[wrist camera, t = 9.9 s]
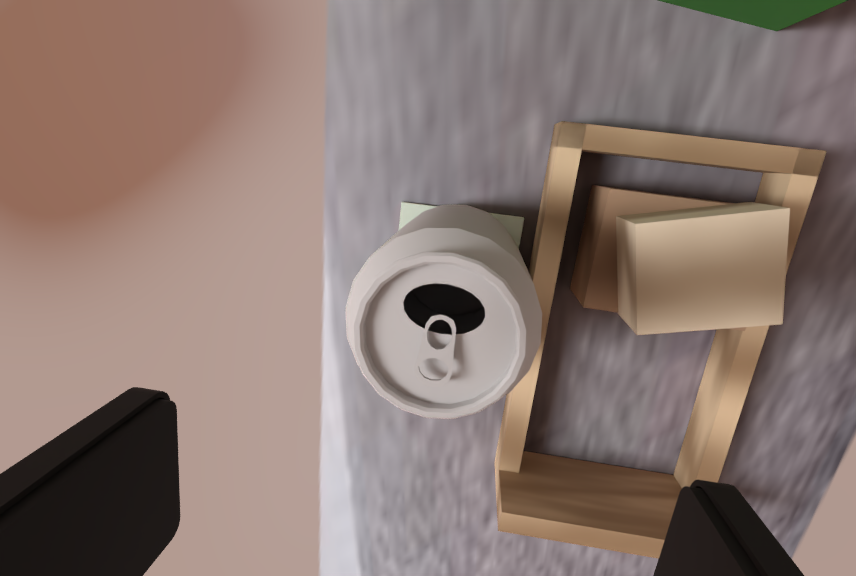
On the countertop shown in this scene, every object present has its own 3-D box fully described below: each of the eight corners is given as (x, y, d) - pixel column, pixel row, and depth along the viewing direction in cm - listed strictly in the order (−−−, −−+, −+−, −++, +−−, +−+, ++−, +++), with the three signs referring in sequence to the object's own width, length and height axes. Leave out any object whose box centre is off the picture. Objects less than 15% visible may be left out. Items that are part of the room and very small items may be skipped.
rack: (554, 124, 26) (576, 114, 20) (794, 151, 25) (890, 149, 19) (494, 462, 31) (498, 530, 26) (687, 494, 30) (736, 572, 25)
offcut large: (590, 184, 27) (609, 188, 23) (738, 203, 26) (783, 211, 22) (569, 287, 28) (583, 307, 24) (708, 307, 28) (744, 331, 24)
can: (531, 214, 27) (572, 254, 15) (505, 337, 29) (524, 456, 17) (400, 192, 27) (342, 216, 16) (384, 315, 29) (322, 417, 18)
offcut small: (615, 216, 23) (635, 224, 20) (749, 201, 22) (789, 208, 19) (618, 314, 24) (636, 335, 21) (745, 304, 23) (782, 324, 21)
